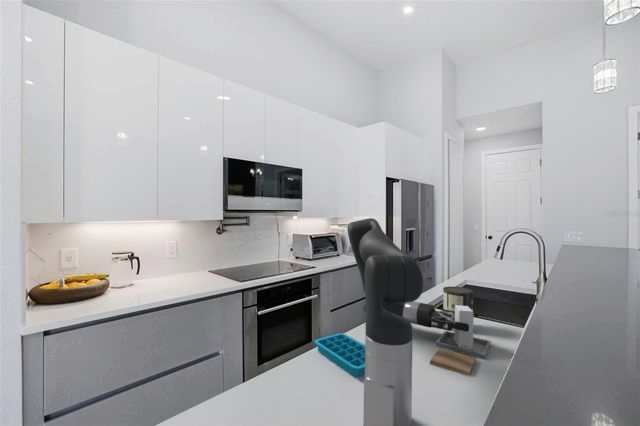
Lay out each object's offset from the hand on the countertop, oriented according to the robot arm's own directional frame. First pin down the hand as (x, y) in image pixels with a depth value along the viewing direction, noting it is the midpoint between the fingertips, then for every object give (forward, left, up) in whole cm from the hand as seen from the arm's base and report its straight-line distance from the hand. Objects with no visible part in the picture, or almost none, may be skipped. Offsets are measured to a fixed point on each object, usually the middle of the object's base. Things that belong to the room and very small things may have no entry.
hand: (471, 324), depth 93 cm
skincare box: (0, +2, -7) cm, 8 cm away
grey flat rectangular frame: (0, +2, -7) cm, 8 cm away
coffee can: (+16, +7, -8) cm, 19 cm away
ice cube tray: (-30, +27, -8) cm, 41 cm away
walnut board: (-14, +2, -7) cm, 16 cm away
